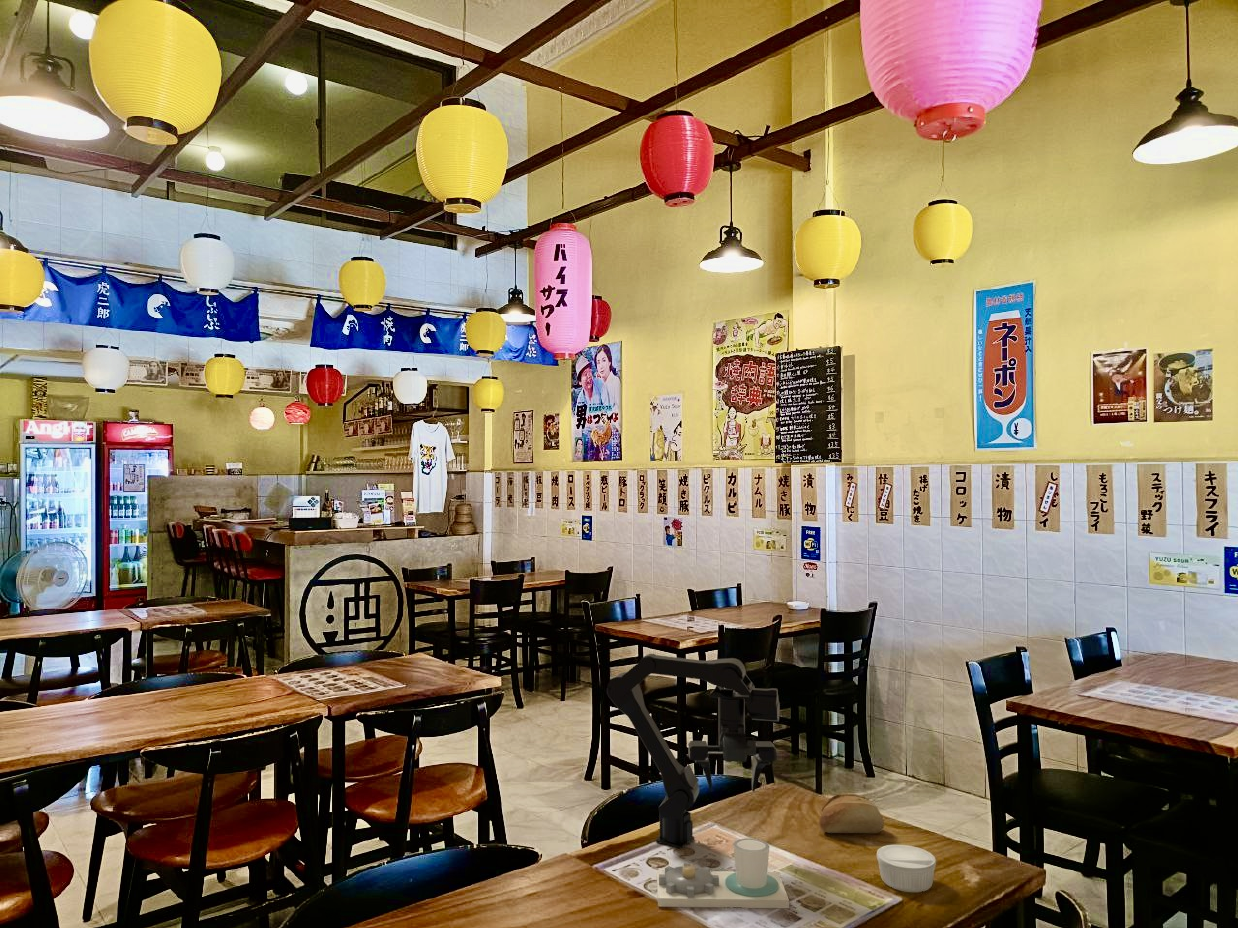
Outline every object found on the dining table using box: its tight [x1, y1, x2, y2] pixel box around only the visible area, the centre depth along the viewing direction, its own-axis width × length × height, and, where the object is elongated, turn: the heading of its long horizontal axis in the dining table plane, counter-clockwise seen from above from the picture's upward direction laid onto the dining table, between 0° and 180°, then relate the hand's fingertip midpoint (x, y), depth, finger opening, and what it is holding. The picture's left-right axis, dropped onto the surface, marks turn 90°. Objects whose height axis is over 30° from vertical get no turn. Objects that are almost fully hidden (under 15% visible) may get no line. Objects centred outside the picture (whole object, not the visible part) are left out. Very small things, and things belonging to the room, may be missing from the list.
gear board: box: [656, 863, 790, 909], centre depth 159 cm, size 24×12×4 cm, turn 89°
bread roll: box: [819, 793, 885, 834], centre depth 190 cm, size 10×15×8 cm, turn 98°
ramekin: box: [876, 844, 937, 893], centre depth 164 cm, size 11×11×5 cm
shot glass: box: [732, 837, 770, 889], centre depth 159 cm, size 7×7×7 cm
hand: (732, 790), depth 181 cm, fingers open, 9 cm apart
